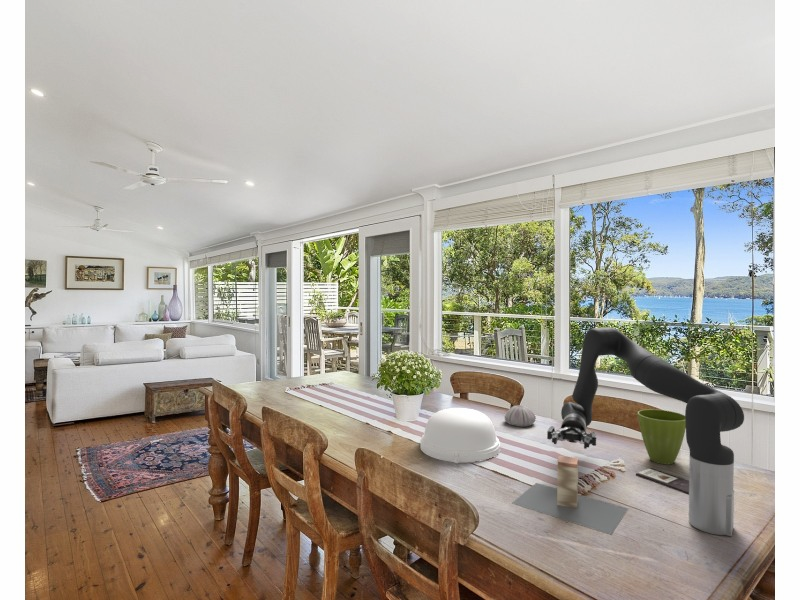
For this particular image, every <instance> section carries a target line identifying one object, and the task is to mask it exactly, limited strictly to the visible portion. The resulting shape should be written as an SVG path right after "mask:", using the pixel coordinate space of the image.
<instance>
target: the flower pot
mask: <svg viewBox="0 0 800 600" xmlns="http://www.w3.org/2000/svg"><path fill="white" fill-rule="evenodd" d="M637 419H638V424H639V429H640V433H641V438H642V440H643V441H642V442H643V444H644V447H645V449H646V452H647V455H648V458H649V460H650V461H652V462H653V463H657V464H660V465H661V464H662V465H673V464H674V463H675V462H676V459H677V458H678V455H679V453H680V450H681V447H682V444H683V441H684V437H685V435H686V423H685V415H684V414H683V413H680V412H675V411H672V410H665V409H653V408H652V409H641V410H639V411H637Z"/></svg>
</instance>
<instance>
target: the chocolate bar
mask: <svg viewBox="0 0 800 600" xmlns="http://www.w3.org/2000/svg"><path fill="white" fill-rule="evenodd" d="M635 476H637V477H639V478H642V479H645V480H648V481H651V482H653V483H656V484H658V485H662V486H664V487H667V488H669V489H672V490H676V491H679V492H681V493H684V494H687V495H689V479H686V478H683V477H681V476H677V475H674V474H671V473H668V472H665V471H662V470H659V469H657V468H656V469H655V468H653V467H650V468H648V469H645V470H642V471H640V472H635Z"/></svg>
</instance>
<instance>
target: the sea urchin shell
mask: <svg viewBox="0 0 800 600" xmlns="http://www.w3.org/2000/svg"><path fill="white" fill-rule="evenodd" d="M536 419H537V417H536V415H535V413H534V412H533V411H532V410H531V408H529V407H527V406H525V405H522V404H521V405H520V404H519V405H513V406H511V407H510V408H509V409H508V410H507V411H506V412H505V414H504V421H505V422H506V423H507V424H509V425H512V426H514V427H523V428H524V427H530V426H532V425H533V424H534V423H535V422H536V421H537V420H536Z"/></svg>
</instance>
